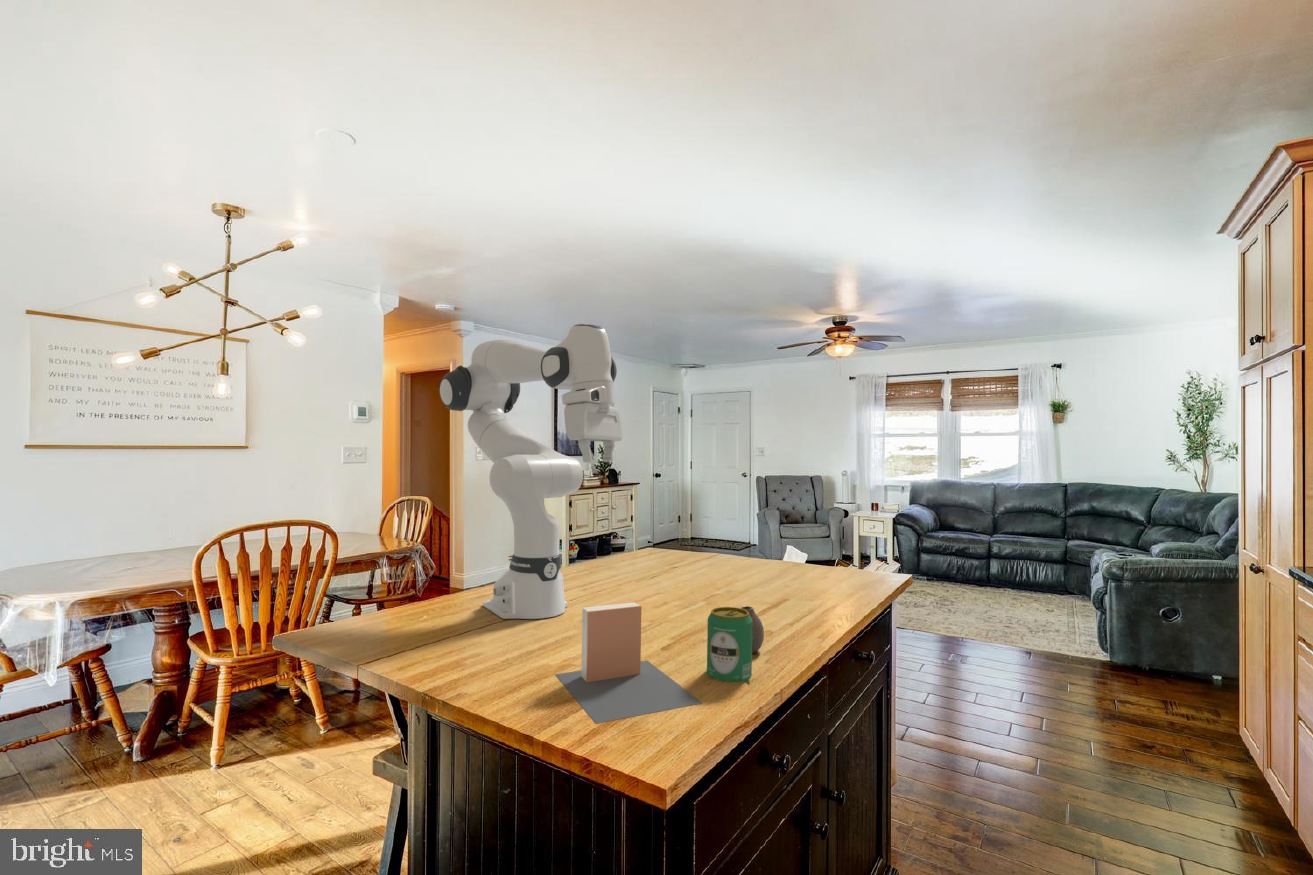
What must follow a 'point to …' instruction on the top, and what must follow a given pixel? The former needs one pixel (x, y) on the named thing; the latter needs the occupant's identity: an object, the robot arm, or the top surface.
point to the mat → (627, 694)
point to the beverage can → (729, 644)
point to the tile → (611, 641)
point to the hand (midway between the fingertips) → (598, 462)
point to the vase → (755, 629)
